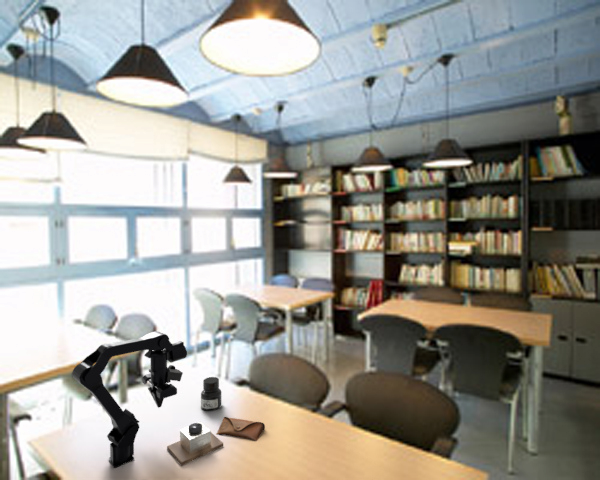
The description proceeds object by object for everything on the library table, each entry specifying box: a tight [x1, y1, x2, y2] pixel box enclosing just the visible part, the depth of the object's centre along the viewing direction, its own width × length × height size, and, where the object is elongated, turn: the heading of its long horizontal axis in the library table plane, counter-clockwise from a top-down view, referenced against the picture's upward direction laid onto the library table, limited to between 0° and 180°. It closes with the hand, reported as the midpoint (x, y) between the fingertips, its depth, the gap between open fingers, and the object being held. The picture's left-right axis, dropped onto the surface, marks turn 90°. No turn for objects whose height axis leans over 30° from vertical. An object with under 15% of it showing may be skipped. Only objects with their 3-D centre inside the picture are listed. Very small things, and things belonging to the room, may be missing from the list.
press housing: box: [179, 421, 212, 454], centre depth 131 cm, size 8×8×5 cm
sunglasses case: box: [216, 416, 266, 442], centre depth 142 cm, size 18×7×7 cm, turn 77°
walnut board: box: [166, 432, 224, 467], centre depth 131 cm, size 16×12×1 cm
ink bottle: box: [200, 376, 222, 412], centre depth 161 cm, size 10×9×12 cm
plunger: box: [187, 422, 203, 434], centre depth 131 cm, size 5×5×6 cm
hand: (159, 406), depth 135 cm, fingers closed
